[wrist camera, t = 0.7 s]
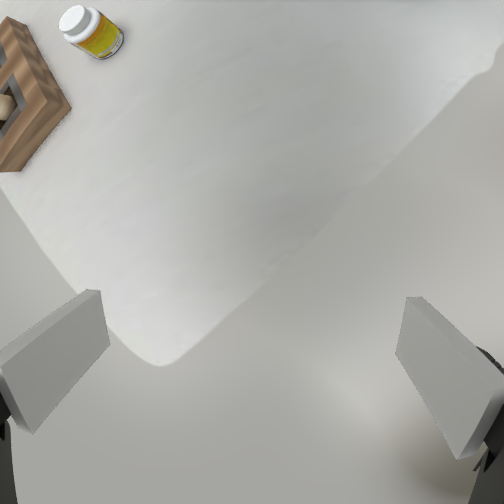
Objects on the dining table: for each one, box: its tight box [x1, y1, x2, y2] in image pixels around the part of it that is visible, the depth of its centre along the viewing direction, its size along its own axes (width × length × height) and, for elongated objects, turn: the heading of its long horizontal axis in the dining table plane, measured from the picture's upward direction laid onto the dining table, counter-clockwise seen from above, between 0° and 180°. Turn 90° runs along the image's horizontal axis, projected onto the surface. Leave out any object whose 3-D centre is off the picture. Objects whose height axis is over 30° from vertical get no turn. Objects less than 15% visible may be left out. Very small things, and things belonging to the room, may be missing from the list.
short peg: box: [0, 94, 18, 121], centre depth 30 cm, size 4×4×6 cm
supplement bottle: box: [59, 5, 123, 59], centre depth 28 cm, size 6×6×10 cm
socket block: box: [0, 16, 71, 172], centre depth 32 cm, size 26×14×6 cm, turn 36°
